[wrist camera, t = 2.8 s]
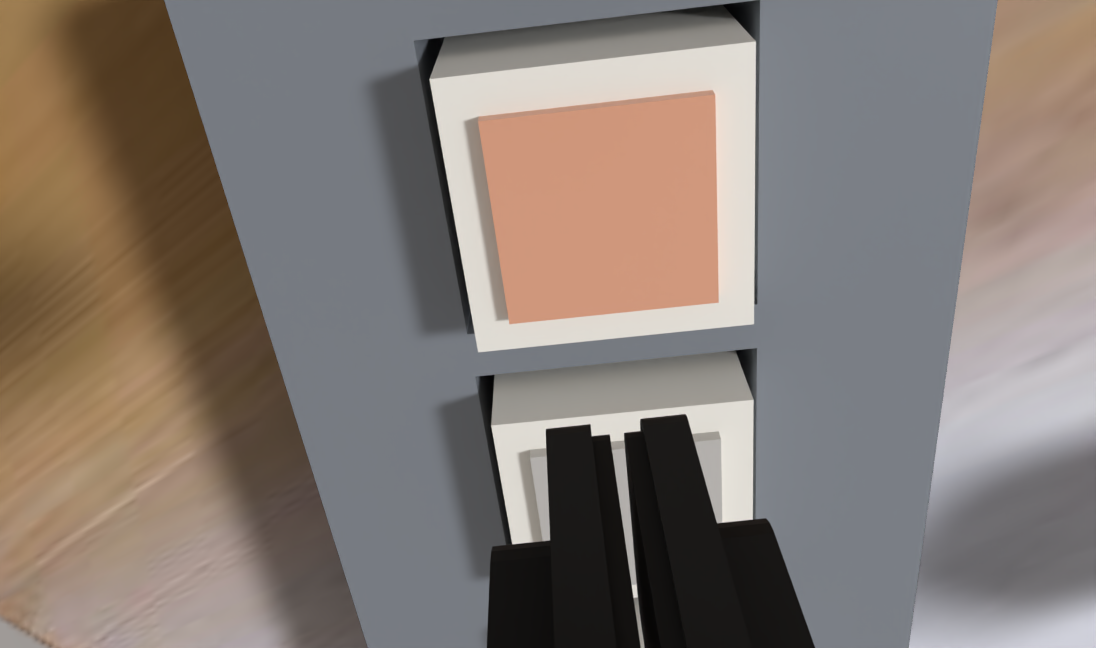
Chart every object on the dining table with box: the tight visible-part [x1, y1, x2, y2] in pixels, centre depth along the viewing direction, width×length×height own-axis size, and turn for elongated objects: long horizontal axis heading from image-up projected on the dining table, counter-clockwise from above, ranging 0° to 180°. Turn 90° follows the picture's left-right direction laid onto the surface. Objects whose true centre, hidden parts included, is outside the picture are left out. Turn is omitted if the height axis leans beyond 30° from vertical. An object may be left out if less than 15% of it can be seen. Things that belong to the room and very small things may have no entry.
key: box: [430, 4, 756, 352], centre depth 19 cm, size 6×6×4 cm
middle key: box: [491, 350, 754, 598], centre depth 23 cm, size 6×6×4 cm
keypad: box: [164, 0, 998, 648], centre depth 25 cm, size 26×16×5 cm, turn 6°
